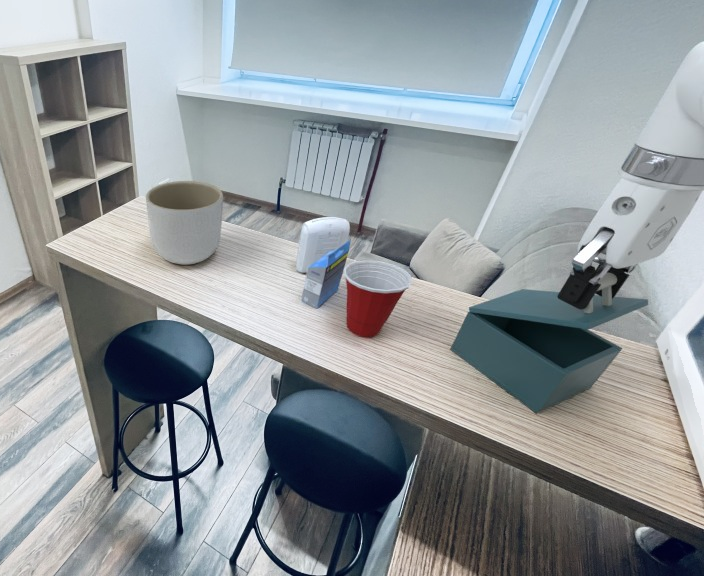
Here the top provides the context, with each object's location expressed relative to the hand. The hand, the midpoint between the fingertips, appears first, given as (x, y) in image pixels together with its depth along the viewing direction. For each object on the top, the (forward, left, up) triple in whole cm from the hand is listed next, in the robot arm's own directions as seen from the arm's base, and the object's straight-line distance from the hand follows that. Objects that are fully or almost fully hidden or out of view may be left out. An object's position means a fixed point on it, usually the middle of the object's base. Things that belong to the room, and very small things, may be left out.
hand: (584, 297), depth 56 cm
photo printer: (+40, +11, -16) cm, 45 cm away
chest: (+2, 0, -16) cm, 16 cm away
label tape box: (+31, +17, -16) cm, 39 cm away
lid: (+3, 0, -4) cm, 5 cm away
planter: (+58, +36, -16) cm, 70 cm away
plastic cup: (+20, +16, -16) cm, 30 cm away
